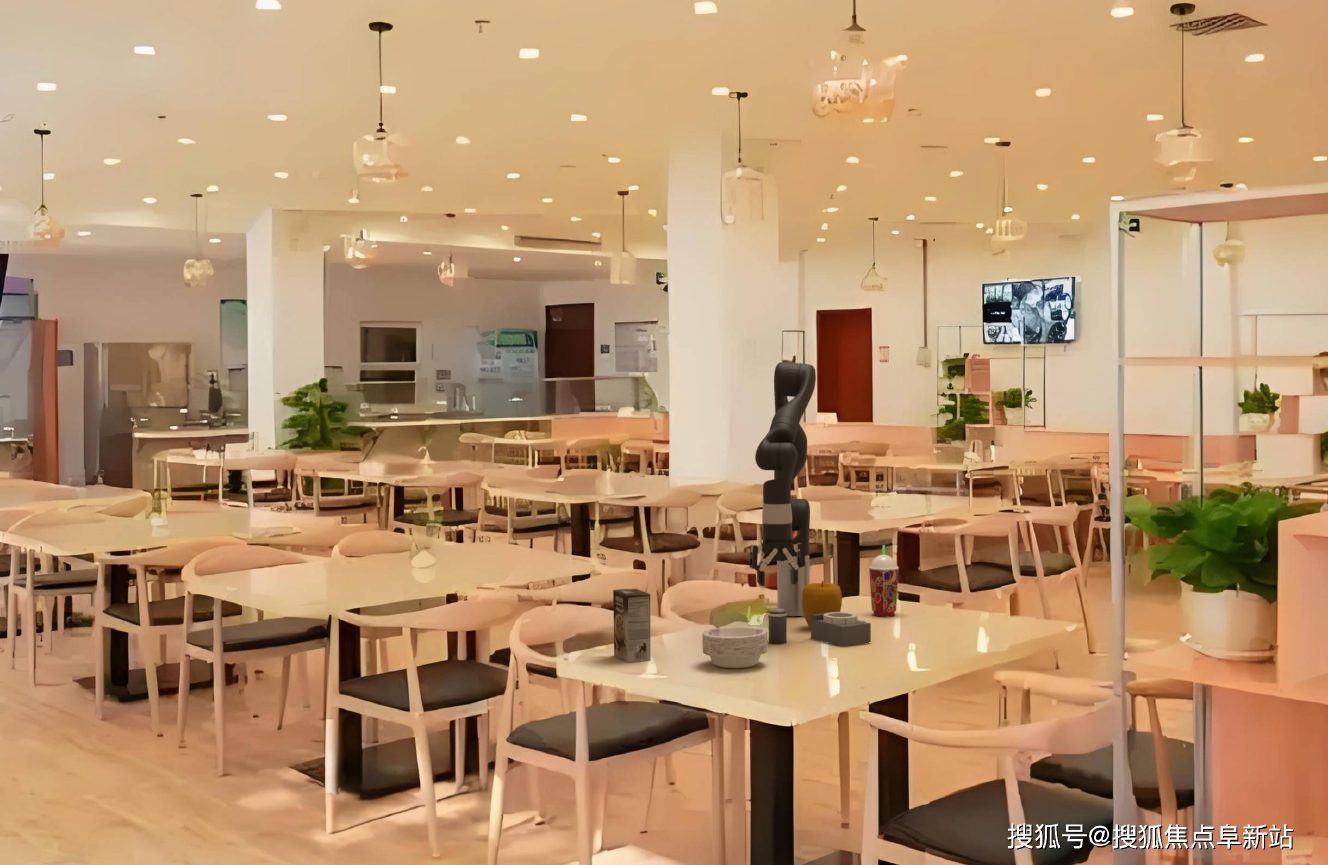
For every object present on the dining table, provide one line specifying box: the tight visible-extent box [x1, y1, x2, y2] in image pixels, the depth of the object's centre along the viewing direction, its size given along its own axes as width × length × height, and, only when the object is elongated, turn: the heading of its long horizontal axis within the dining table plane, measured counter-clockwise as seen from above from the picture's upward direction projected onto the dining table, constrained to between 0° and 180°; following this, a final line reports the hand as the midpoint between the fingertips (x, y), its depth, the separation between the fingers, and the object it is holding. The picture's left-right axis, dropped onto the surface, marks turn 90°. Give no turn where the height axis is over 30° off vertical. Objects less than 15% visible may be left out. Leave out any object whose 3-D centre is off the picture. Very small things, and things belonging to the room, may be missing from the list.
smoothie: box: [868, 544, 900, 617], centre depth 361 cm, size 8×8×20 cm
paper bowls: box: [701, 626, 768, 669], centre depth 296 cm, size 15×15×8 cm
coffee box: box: [612, 588, 652, 663], centre depth 305 cm, size 9×6×16 cm
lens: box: [767, 608, 788, 645], centre depth 322 cm, size 5×5×8 cm
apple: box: [802, 580, 843, 629], centre depth 341 cm, size 11×11×13 cm
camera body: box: [810, 611, 872, 648], centre depth 324 cm, size 13×9×7 cm
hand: (777, 584), depth 322 cm, fingers open, 8 cm apart
